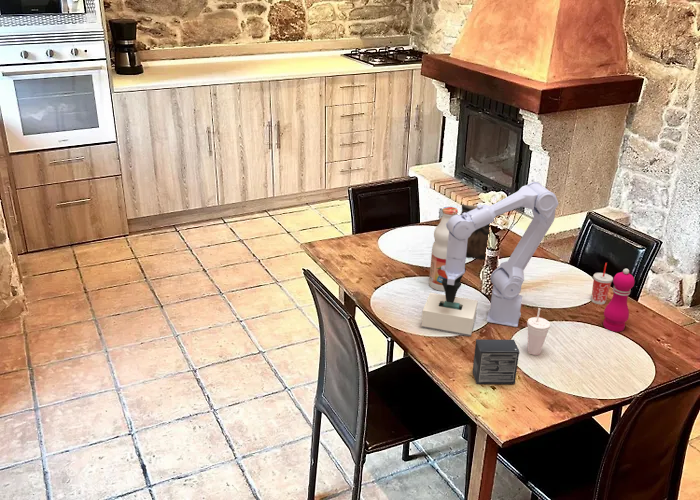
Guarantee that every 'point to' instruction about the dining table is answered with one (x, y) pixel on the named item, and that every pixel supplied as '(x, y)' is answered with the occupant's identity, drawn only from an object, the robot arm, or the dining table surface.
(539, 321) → the smoothie
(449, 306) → the block
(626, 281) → the pepper mill
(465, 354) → the dining table surface
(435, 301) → the money box
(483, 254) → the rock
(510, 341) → the small box
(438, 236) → the fruit juice
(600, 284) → the beverage cup
